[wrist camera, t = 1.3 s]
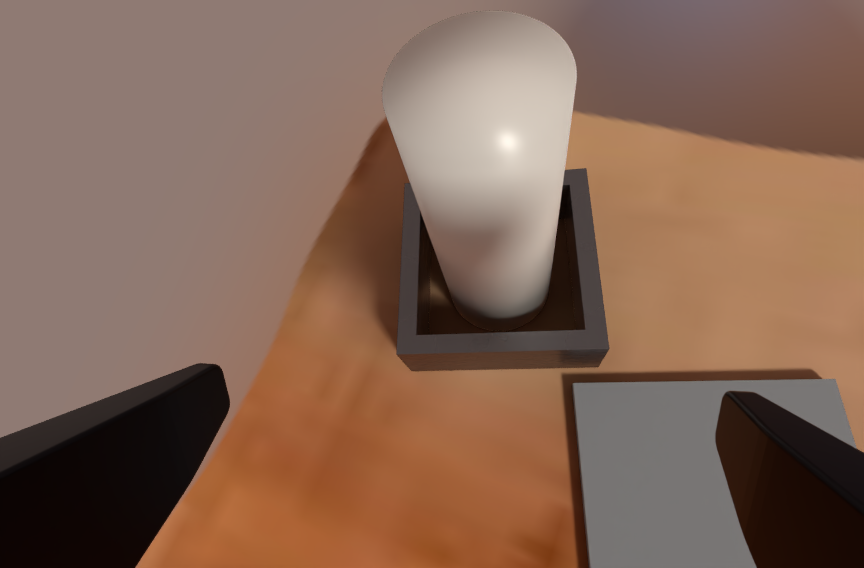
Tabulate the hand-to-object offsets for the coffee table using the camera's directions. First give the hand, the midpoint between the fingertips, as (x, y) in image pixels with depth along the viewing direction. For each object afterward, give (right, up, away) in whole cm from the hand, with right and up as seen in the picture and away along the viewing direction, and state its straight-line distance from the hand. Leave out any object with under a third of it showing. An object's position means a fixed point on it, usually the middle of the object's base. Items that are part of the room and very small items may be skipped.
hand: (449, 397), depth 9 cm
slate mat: (+11, -7, +10) cm, 16 cm away
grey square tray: (+3, +2, +15) cm, 15 cm away
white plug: (+3, +2, +15) cm, 15 cm away
